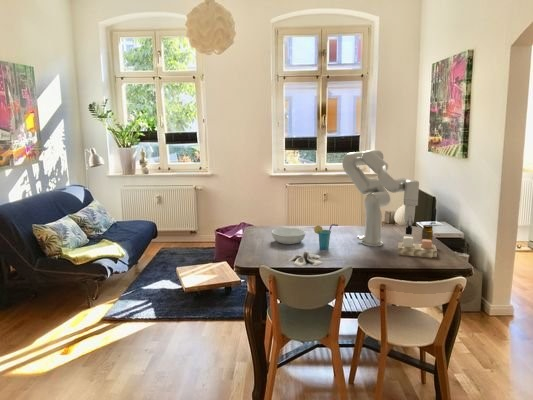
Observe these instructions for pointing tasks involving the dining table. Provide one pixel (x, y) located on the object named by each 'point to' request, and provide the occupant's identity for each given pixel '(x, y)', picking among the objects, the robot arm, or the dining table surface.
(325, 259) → the dining table surface
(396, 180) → the robot arm
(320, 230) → the cup
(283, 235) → the serving bowl
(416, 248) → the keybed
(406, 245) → the ivory key
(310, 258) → the cloth
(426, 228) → the condiment
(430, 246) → the terracotta key
